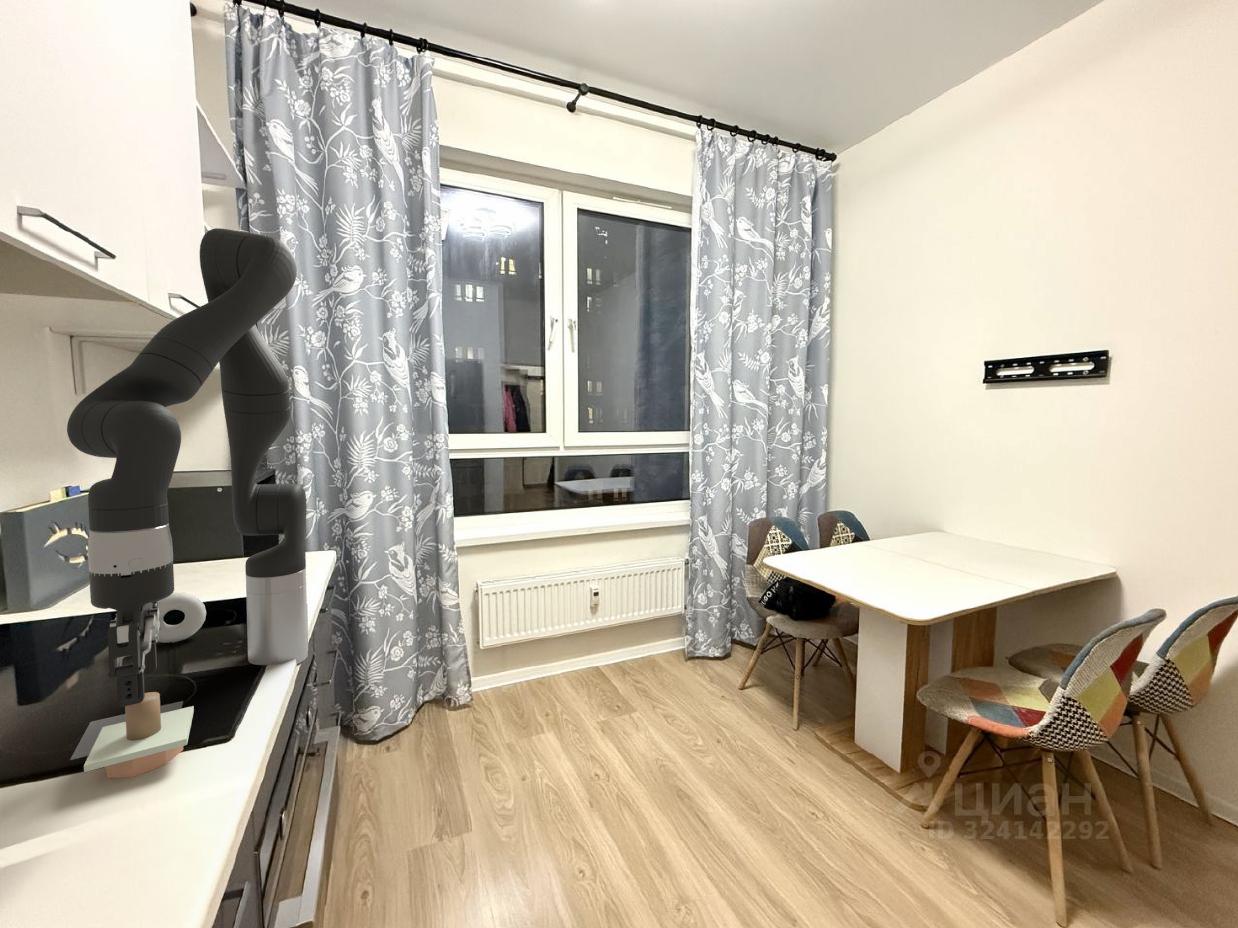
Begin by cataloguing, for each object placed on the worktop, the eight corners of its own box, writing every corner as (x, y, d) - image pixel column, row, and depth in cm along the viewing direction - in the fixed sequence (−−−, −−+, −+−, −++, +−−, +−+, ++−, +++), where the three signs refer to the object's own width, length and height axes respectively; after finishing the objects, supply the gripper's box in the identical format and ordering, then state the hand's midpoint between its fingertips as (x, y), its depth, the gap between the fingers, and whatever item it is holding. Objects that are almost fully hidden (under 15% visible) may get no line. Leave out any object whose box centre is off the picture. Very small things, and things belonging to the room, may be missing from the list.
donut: (207, 633, 106) (206, 586, 105) (206, 638, 103) (204, 591, 102) (142, 644, 100) (140, 594, 99) (139, 650, 97) (137, 600, 96)
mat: (91, 731, 72) (90, 721, 72) (183, 710, 78) (183, 700, 77) (70, 771, 64) (69, 759, 64) (175, 743, 69) (174, 733, 69)
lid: (103, 732, 65) (101, 693, 65) (193, 711, 70) (192, 674, 70) (84, 772, 58) (81, 727, 57) (187, 744, 63) (185, 703, 63)
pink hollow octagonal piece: (138, 752, 67) (137, 723, 67) (195, 750, 68) (194, 721, 68) (89, 789, 61) (87, 757, 60) (153, 786, 61) (151, 755, 61)
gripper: (104, 552, 66) (111, 671, 67) (70, 583, 54) (79, 725, 56) (180, 546, 70) (185, 657, 72) (163, 572, 59) (169, 705, 60)
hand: (139, 687), depth 64 cm, fingers open, 8 cm apart
